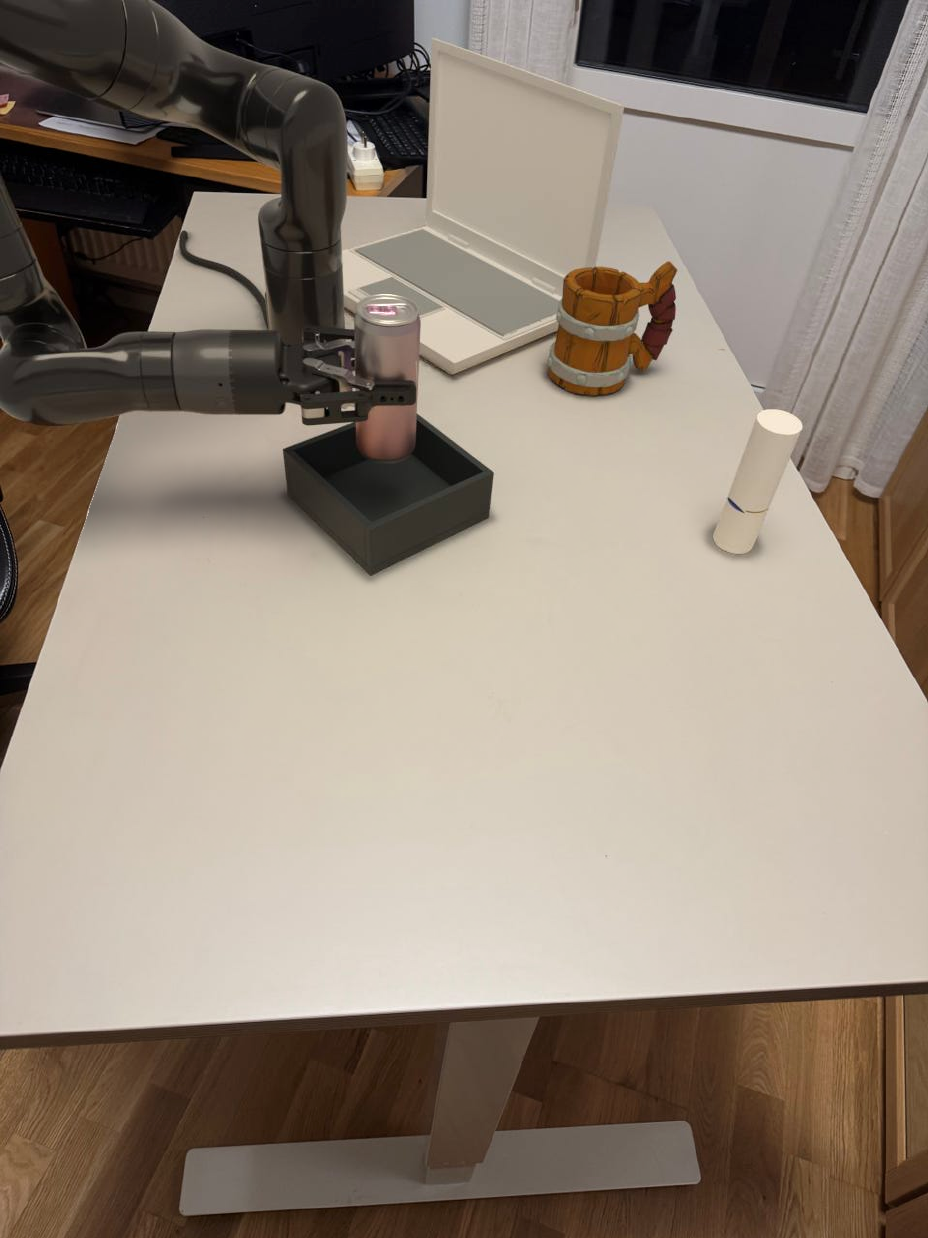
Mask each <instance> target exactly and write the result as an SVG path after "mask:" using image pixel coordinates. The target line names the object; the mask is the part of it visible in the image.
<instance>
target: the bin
mask: <svg viewBox="0 0 928 1238" xmlns="http://www.w3.org/2000/svg"><path fill="white" fill-rule="evenodd" d="M282 456H283V465H284V474H285V483H286V493H287V496H288V497H289V498H290V499H291V500H292V501H293V502H294V503H295V504H297V505H298V507H300V509H301V510H302V511H304V512H305V513H306V515H308V516H309V517H310V518H311V520H313V521H314V523H316V524H317V525H318V526H319V527H320V528H321V529H322V530H323V531H324V532H326V534H327V535H328V536H330V538H331V539H333V540H334V541H335V542H336V543H337V544H338V545H339V546H340V547H341V549H343V550H344V551H345V552H346V553H347V554H348V555H349V556H350V557H351V558H352V559H353V560H354V561H355V562H356V563H357V564H358V565H359V566H360V567H361V568H362V569H363V570H364V571H366V572H367V574H368V575H370V576H372V575H374V574H376V573H379V572H381V571H382V570H384V569H386V568H389V567H390V566H393V565H395V564H397V563H399V562H401V561H404V560H405V559H407V558H409V557H411V556H413V555H416V554H417V553H419V552H421V551H423V550H426V549H427V548H430V547H431V546H434V545H436V544H437V543H440V542H442V541H444V540H446V539H448V538H450V537H453V536H454V535H456V534H458V533H460V532H462V531H464V530H467V529H468V528H471V527H472V526H474V525H476V524H478V523H479V524H480V523H481V522H482V521H485V520H487V519H489V518H490V512H491V503H492V494H493V485H494V476H495V475H494V474H495V473H494V471H493V470H492V469H490V468H489V467H488V466H486V465H485V464H484V463H482V462H481V461H480V460H479V459H478V458H476V457H475V456H473V455H472V454H471V453H469V452H468V451H467V450H465V448H463V447H462V446H461V445H459V444H458V443H456V442H455V441H454V440H452V439H451V438H450V437H448V436H447V435H446V434H445V433H443V432H442V431H441V430H440V429H438V427H436V426H434V425H433V424H432V423H430V422H429V421H428V420H426V419H425V418H424V417H422V416H421V415H420V414H419V413H417V419H416V442H415V448H414V450H413V452H412V453H411V454H410V456H409V457H408V458H406V459H405V460H403V461H401V462H398V463H393V464H380V463H376V462H373V461H370V460H368V459H367V458H365V457H364V456H363V455H362V454H361V452H360V451H359V450H358V448H357V445H356V422H349V423H347V424H345V425H343V426H340V427H337V428H335V429H332V430H328V431H327V432H324V433H322V434H318V435H316V436H313V437H310V438H308V439H305V440H302V441H300V442H297V443H295V444H292V445H289V446H287V447H285V448H282Z"/></svg>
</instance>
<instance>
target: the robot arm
mask: <svg viewBox="0 0 928 1238" xmlns="http://www.w3.org/2000/svg"><path fill="white" fill-rule="evenodd" d="M0 63H1V64H3V65H5V66H7V67H9V68H12V69H14V70H17V71H19V72H20V73H23V74H26V75H28V76H30V77H32V78H36V80H40V81H42V82H44V83H46V84H49V85H51V86H53V87H56V88H59V89H61V90H63V91H65V92H67V93H70V94H73V95H75V96H77V97H80V98H82V99H85V100H87V101H91V102H93V103H96V104H98V105H100V106H103V107H105V108H106V107H107V108H109V109H112V110H115V111H118V112H121V113H123V114H127V115H131V116H134V117H139V118H142V119H147V120H152V121H157V122H166V123H176V124H177V123H178V124H182V125H187V126H191V127H193V128H195V129H198V130H200V131H202V132H204V133H206V134H208V135H210V136H212V137H214V138H216V139H218V140H220V141H222V142H224V143H226V144H228V146H231V147H233V148H234V149H236V150H238V151H240V152H241V153H243V154H245V155H246V156H248V157H250V158H251V159H253V160H255V161H257V162H258V163H260V164H263V165H264V166H267V167H269V168H272V169H273V170H277V171H279V172H280V195H281V196H280V197H277V198H274V199H271V200H269V201H267V202H265V203H264V204H263V205H262V206H261V207H260V208H259V210H258V215H257V223H258V224H257V225H258V231H259V241H260V250H261V260H262V267H263V277H264V286H265V292H264V295H263V294H262V292H261V291H260V290H259V288H258V287H257V286H256V285H255V284H254V283H253V282H252V281H251V280H250V279H249V278H247V277H246V276H245V275H244V274H242V273H241V272H239V271H238V270H236V269H234V268H232V267H230V266H228V265H225V264H223V263H220V262H217V261H213V260H209V259H206V258H202V257H199V256H197V255H195V254H192V253H190V252H189V251H188V250H187V248H186V239H187V238H188V237H189V236H188V235H189V233H188V231H186V230H182V231H181V232H180V234H179V239H180V240H178V246H179V251H180V253H181V254H182V255H183V256H184V257H185V259H187V260H189V261H191V262H193V263H196V264H199V265H202V266H205V267H209V268H213V269H216V270H219V271H222V272H224V273H226V274H229V275H230V276H232V277H233V278H236V279H237V280H238V281H240V282H241V283H242V284H244V285H245V286H246V288H248V289H249V290H250V291H251V292H252V293H253V295H254V296H255V297H256V299H257V301H258V302H259V304H260V308H261V310H262V311H261V312H262V314H263V315H262V316H263V319H264V322H265V324H266V325H267V327H268V328H267V329H217V328H216V329H213V328H212V329H211V328H209V329H208V328H207V329H203V328H201V329H193V330H185V331H150V330H149V331H148V330H147V331H144V330H143V331H141V330H140V331H126V332H121V333H118V334H116V335H115V336H113V337H112V338H110V339H109V340H108V341H107V342H106V343H104V344H103V345H99V346H97V347H96V346H95V347H90V348H88V347H87V343H86V340H85V338H84V336H83V333H82V331H81V329H80V327H79V325H78V323H77V321H76V320H75V318H74V317H73V315H72V314H71V312H70V310H69V309H68V308H67V306H66V305H65V303H64V301H63V300H62V299H61V297H60V295H59V294H58V292H57V290H55V288H54V287H53V285H51V283H50V282H49V280H48V279H47V277H46V276H45V275H44V272H43V270H42V268H41V265H40V262H39V260H38V257H37V255H36V252H35V250H34V248H33V246H32V243H31V241H30V239H29V236H28V234H27V231H26V229H25V227H24V225H23V222H22V221H21V218H20V215H19V214H18V211H17V209H16V207H15V204H14V202H13V200H12V198H11V196H10V192H9V190H8V188H7V185H6V183H5V181H4V178H3V176H2V174H1V172H0V339H1V341H2V344H3V345H2V347H1V348H0V409H1V410H2V411H3V412H5V413H6V414H7V415H9V416H11V417H12V418H14V419H16V420H18V421H21V422H24V423H27V424H31V425H35V426H43V427H65V426H72V425H77V424H83V423H89V422H93V421H97V420H104V419H110V418H113V417H117V416H121V415H125V414H128V413H134V412H150V413H153V412H154V413H173V412H174V413H181V412H182V413H183V412H184V413H193V414H194V413H195V414H201V415H213V416H215V415H216V416H217V415H218V416H219V415H221V416H222V415H223V416H224V415H226V416H227V415H231V416H233V415H239V416H240V415H241V416H242V415H244V416H245V415H246V416H247V415H251V416H252V415H253V416H254V415H255V416H258V415H260V416H263V415H267V416H269V415H270V416H271V415H274V416H276V415H277V416H278V415H279V416H280V415H282V414H283V413H284V412H285V411H286V406H287V404H293V405H297V406H300V411H301V413H300V415H301V423H302V424H303V425H304V426H307V427H309V426H310V427H311V426H323V425H333V424H334V425H335V424H346V423H347V424H350V423H353V422H361V421H366V420H368V413H369V412H370V410H373V409H374V408H375V406H393V405H394V406H398V405H399V406H406V405H413V404H415V402H416V383H415V382H414V381H412V380H375V383H374V382H373V381H371V380H367V379H363V378H359V377H355V374H353V372H355V344H354V328H346V320H345V319H346V317H345V315H346V314H345V307H344V289H343V264H342V251H343V249H342V248H343V245H342V243H343V242H342V222H343V219H344V216H345V212H346V207H347V199H348V154H349V153H348V149H349V147H348V145H349V144H348V143H349V142H348V140H349V139H348V137H349V136H348V125H347V118H346V113H345V109H344V106H343V103H342V100H341V99H340V97H339V95H338V94H337V92H336V91H335V90H334V89H333V88H332V87H331V86H329V85H328V84H327V83H324V82H322V81H320V80H317V79H314V78H313V77H309V76H307V75H302V74H300V73H296V72H295V71H291V70H288V69H285V68H282V67H278V66H275V65H269V64H265V63H262V62H261V63H260V62H257V61H254V60H251V59H247V58H244V57H242V56H238V55H236V54H234V53H230V52H228V51H225V50H222V49H220V48H217V47H215V46H213V45H212V44H209V43H208V42H206V41H204V40H203V39H201V38H200V37H198V36H197V35H196V34H195V33H194V32H192V31H191V30H190V29H189V28H188V27H187V26H186V25H185V24H184V23H183V22H181V20H179V18H177V17H176V16H175V15H173V14H172V13H171V12H170V11H169V10H168V9H166V8H165V7H163V6H162V5H160V4H159V3H158V2H156V1H154V0H0ZM346 340H350V341H346ZM353 389H354V390H353ZM355 389H359V390H360V391H355ZM349 407H352V408H354V409H353V410H352V409H351V410H346V409H348V408H349Z"/></svg>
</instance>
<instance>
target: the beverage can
mask: <svg viewBox="0 0 928 1238" xmlns="http://www.w3.org/2000/svg"><path fill="white" fill-rule="evenodd" d="M353 329H354V344H355V358H354V359H355V371H354V376H355V377H359V378H363V379H367V380H371V381H373V382H374V383H375V380H412V381H414V382H415V383H416V402H415V404H413V405H406V406H399V405H398V406H394V405H393V406H375V408H374V409H373V410H370V412H369V413H368V420H366V421H361V422H356V445H357V448H358V450H359V451H360V452H361V454H362V455H363V456H364V457H365V458H367V459H368V460H370V461H373V462H376V463H380V464H393V463H398V462H401V461H403V460H405V459H406V458H408V457H409V456H410V454H411V453H412V452H413V450H414V448H415V442H416V419H417V414H418V396H419V372H420V371H419V370H420V355H419V352H420V329H421V320H420V317H419V308H418V306H417V305H416V304H415V303H414V302H413V301H411V300H410V299H408V298H405V297H402V296H398V295H392V294H377V295H372V296H368V297H365V298H363V299H362V300H360V301H359V302H358V304H357V306H356V314H354V317H353ZM354 391H360V390H359V389H355V388H354Z"/></svg>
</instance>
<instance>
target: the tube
mask: <svg viewBox="0 0 928 1238" xmlns="http://www.w3.org/2000/svg"><path fill="white" fill-rule="evenodd" d="M756 415H757V416H756V418H755V421H754V422H753V426H752V429H751V432H750V433H749V436H748V440H747V442H746V446H745V448H744V451H743V453H742V456H741V459H740V461H739V464H738V467H737V470H736V473H735V475H734V477H733V480H732V483H731V486H730V489H729V491H728V494H727V497H726V499H725V502H724V505H723V508H722V511H721V513H720V516H719V519H718V522H717V524H716V526H715V530H714V532H713V535H712V538H713V542H714V543H715V545H716V546H717V547H718V548H719V549H721V550H723V551H724V552H727V553H729V554H733V555H743V554H747V553H749V552H751V551H752V549H753V547H754V546H755V543H756V540H757V538H758V535H759V533H760V531H761V528H762V526H763V523H764V521H765V519H766V516H767V514H768V511H769V508H770V507H771V505H772V502H773V499H774V497H775V495H776V493H777V490H778V487H779V485H780V482H781V480H782V478H783V475H784V474H785V471H786V469H787V466H788V464H789V461H790V458H791V456H792V454H793V451H794V449H795V446H796V444H797V442H798V440H799V437H800V434H801V432H802V430H803V422H802V421H801V420H800V419H799V418H798V417H797V416H795V415H794V414H792V413H790V412H789V411H786V410H781V409H775V408H770V409H769V408H768V409H763V410H761V411H760V412H758V413H757V414H756Z"/></svg>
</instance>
